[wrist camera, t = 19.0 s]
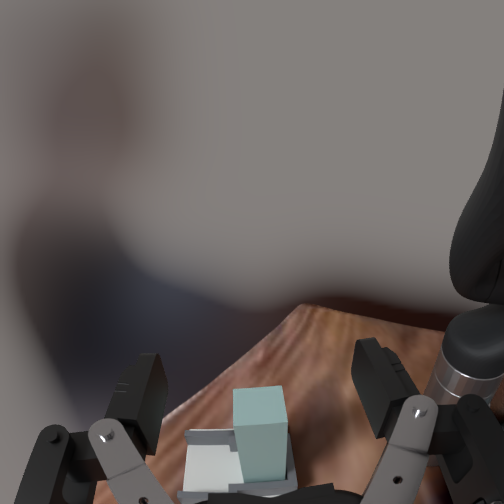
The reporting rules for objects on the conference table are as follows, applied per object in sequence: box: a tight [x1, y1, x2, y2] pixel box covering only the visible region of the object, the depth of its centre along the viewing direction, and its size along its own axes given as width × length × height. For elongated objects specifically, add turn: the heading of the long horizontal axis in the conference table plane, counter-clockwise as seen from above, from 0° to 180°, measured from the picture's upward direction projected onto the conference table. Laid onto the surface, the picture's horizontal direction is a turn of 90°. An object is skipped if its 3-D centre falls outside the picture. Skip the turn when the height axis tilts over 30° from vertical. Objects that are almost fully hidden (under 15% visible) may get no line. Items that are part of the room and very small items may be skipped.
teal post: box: [233, 386, 288, 483], centre depth 31 cm, size 5×5×14 cm
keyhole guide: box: [177, 429, 298, 504], centre depth 33 cm, size 14×15×3 cm
